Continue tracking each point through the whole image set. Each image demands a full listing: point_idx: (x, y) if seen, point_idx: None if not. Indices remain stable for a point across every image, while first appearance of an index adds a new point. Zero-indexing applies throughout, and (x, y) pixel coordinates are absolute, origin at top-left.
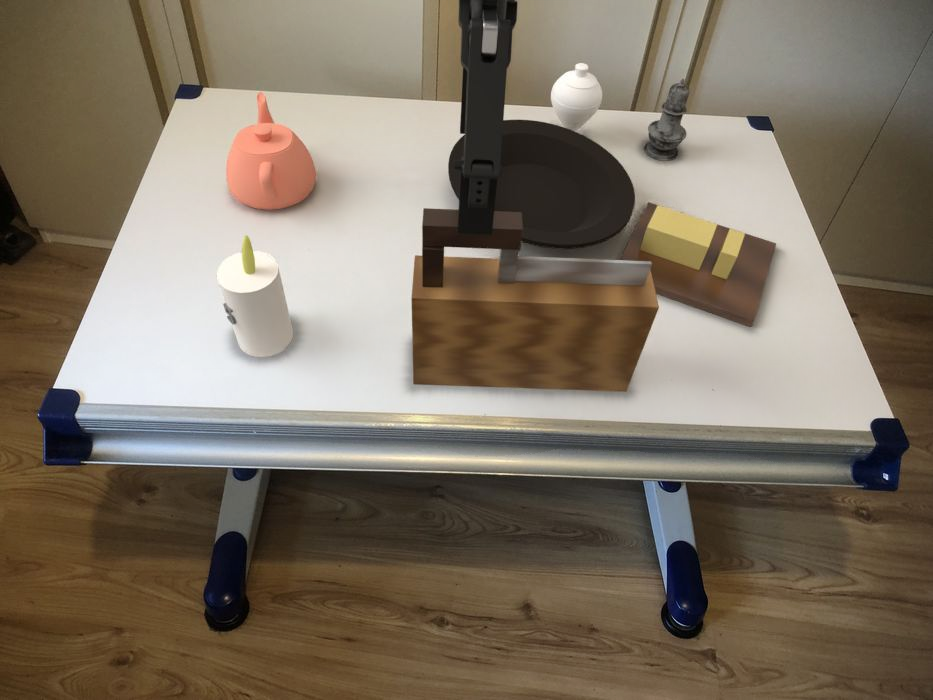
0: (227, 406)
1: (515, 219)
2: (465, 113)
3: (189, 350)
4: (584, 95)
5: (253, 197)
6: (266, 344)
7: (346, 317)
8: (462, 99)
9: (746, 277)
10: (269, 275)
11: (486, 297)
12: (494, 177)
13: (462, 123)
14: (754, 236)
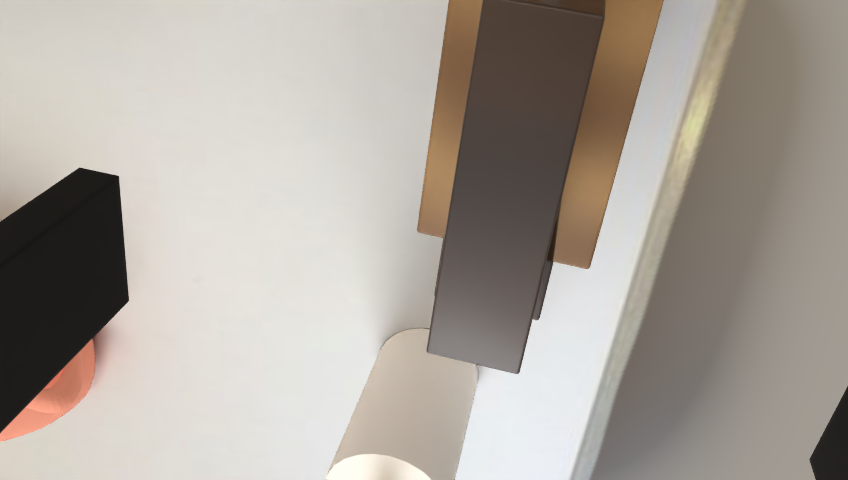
0: (580, 434)
1: (530, 34)
2: (63, 349)
3: None
4: None
5: (83, 382)
6: (471, 391)
7: (387, 232)
8: (12, 415)
9: None
10: (399, 470)
11: (631, 59)
12: None
13: (98, 325)
14: None
